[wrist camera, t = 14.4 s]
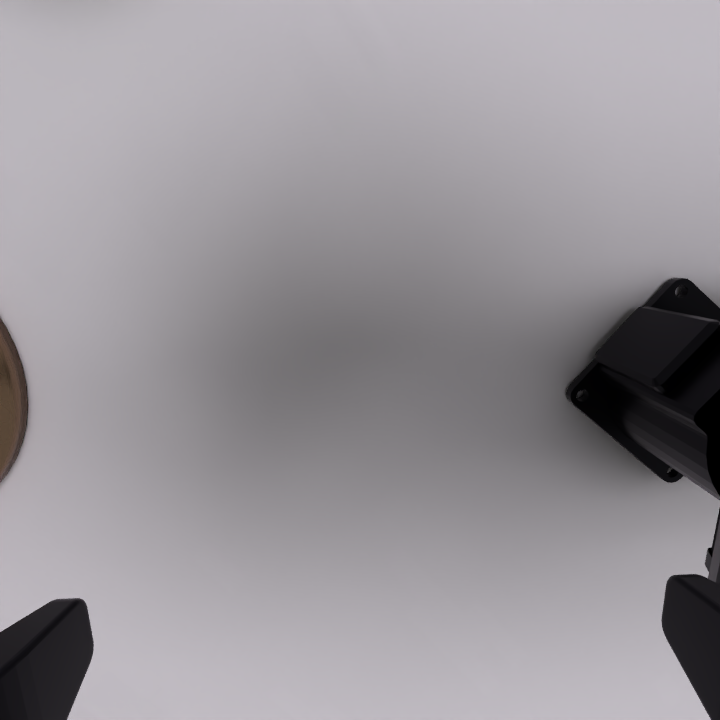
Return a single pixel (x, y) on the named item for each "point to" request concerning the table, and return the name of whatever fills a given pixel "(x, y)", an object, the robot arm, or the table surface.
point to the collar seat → (11, 402)
